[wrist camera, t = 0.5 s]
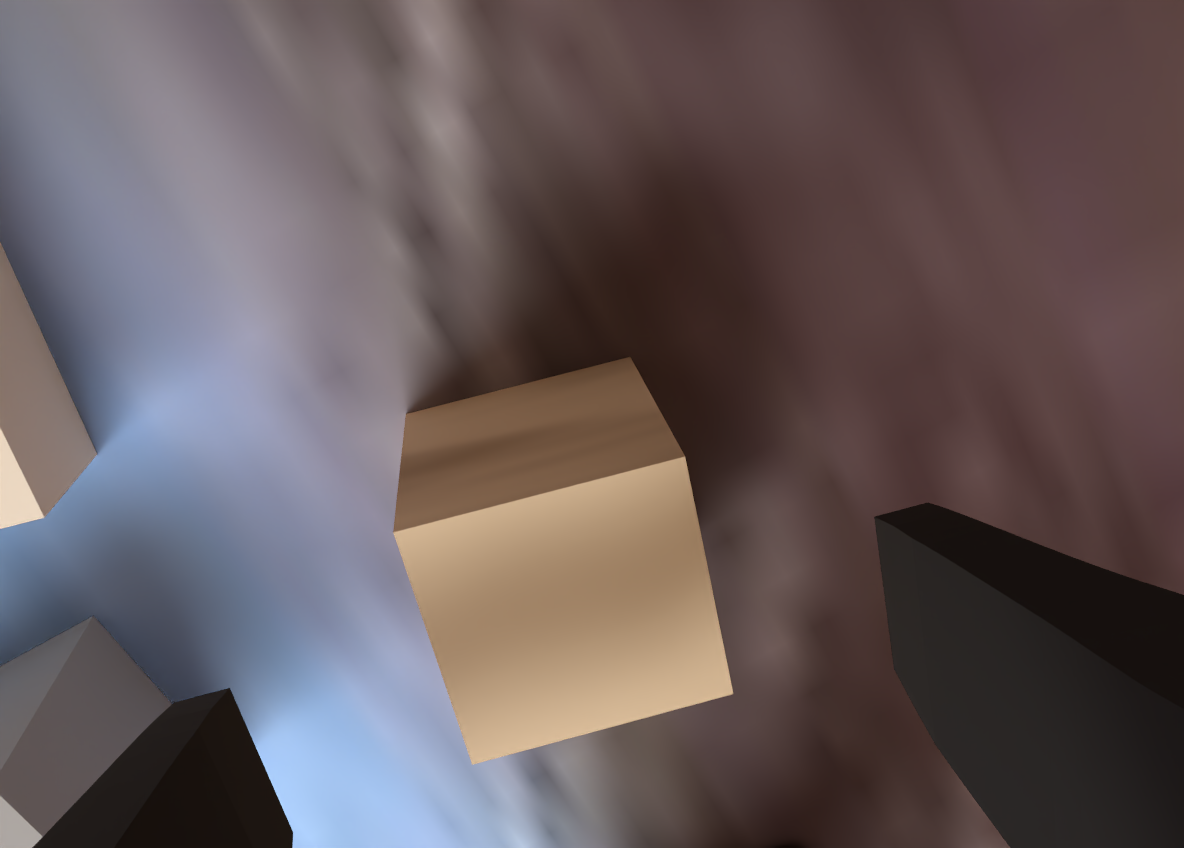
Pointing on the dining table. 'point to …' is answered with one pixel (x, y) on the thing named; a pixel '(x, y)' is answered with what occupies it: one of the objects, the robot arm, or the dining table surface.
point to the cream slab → (33, 415)
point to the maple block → (557, 559)
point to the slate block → (65, 725)
